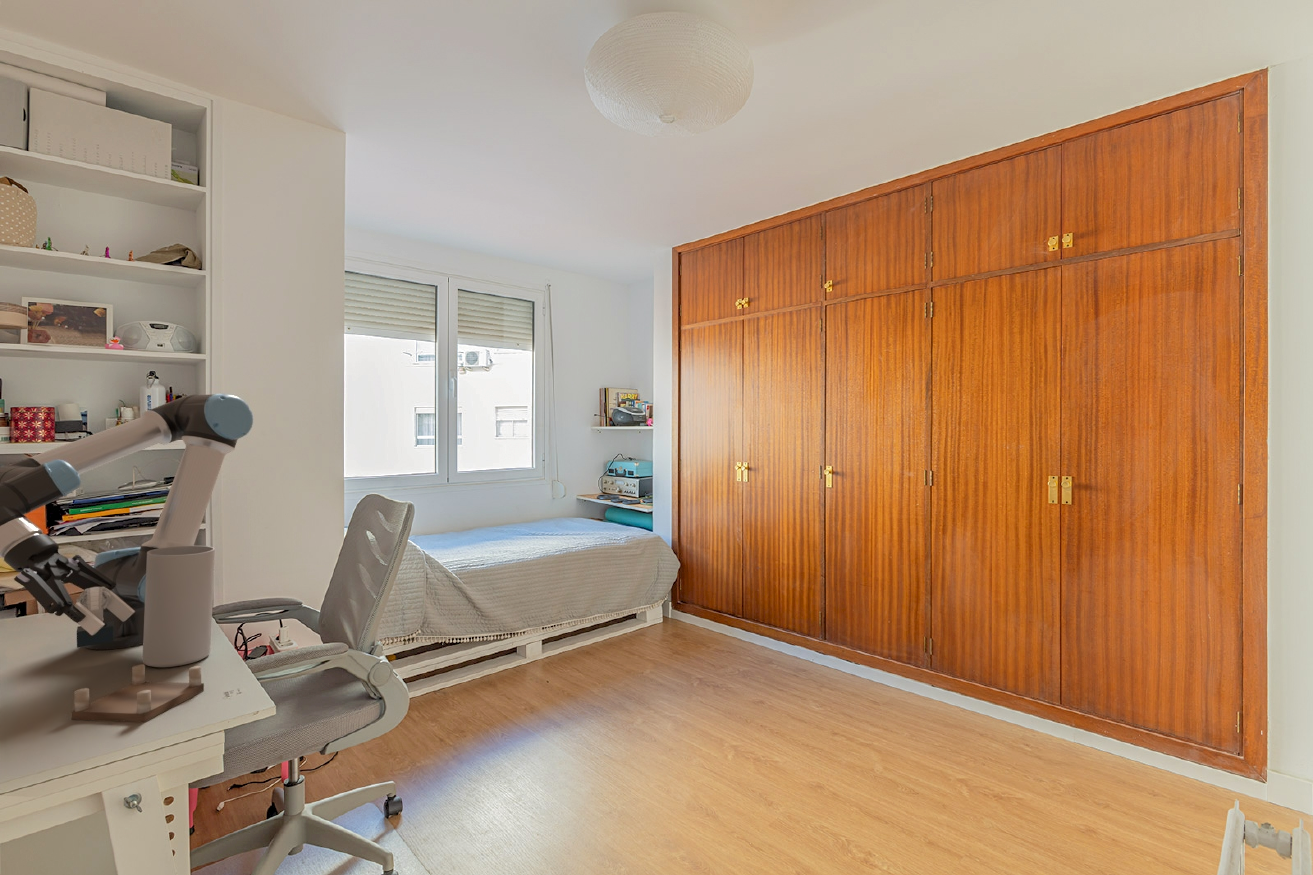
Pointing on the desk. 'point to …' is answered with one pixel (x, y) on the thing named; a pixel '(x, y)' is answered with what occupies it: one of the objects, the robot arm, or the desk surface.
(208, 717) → the desk surface
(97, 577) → the robot arm
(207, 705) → the desk surface
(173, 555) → the cylinder vase
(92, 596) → the watch
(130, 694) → the peg base
